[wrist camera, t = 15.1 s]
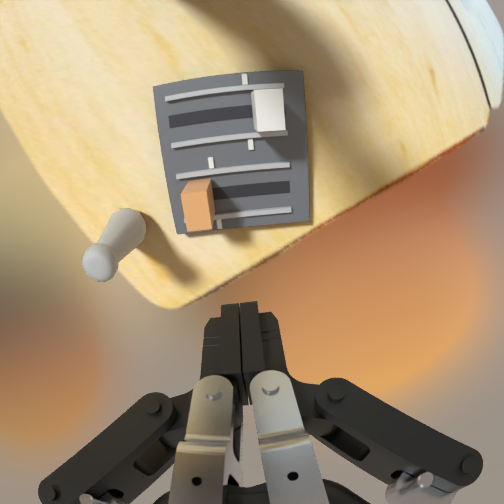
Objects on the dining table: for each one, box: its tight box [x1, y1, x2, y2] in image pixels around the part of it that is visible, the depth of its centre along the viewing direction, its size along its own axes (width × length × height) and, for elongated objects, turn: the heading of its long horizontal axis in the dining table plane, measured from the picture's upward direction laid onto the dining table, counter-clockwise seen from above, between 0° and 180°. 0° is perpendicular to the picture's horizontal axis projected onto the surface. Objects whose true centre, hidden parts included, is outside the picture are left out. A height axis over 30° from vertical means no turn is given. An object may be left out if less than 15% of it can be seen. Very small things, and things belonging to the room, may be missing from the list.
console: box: [153, 71, 309, 234], centre depth 33 cm, size 20×18×3 cm
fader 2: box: [251, 88, 286, 132], centre depth 27 cm, size 4×3×6 cm, turn 5°
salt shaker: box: [82, 208, 146, 282], centre depth 32 cm, size 6×6×13 cm
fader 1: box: [180, 178, 215, 232], centre depth 32 cm, size 4×3×6 cm, turn 5°
